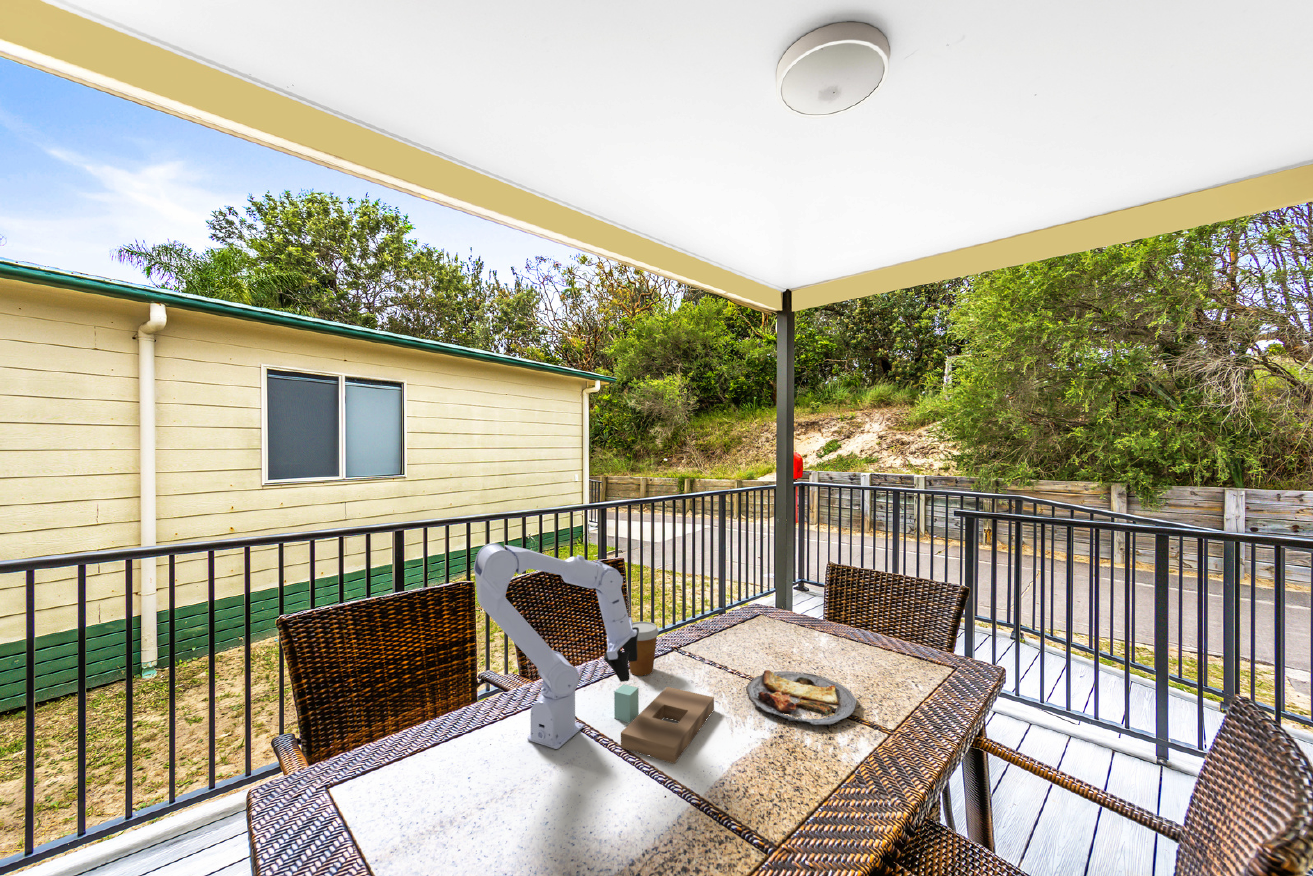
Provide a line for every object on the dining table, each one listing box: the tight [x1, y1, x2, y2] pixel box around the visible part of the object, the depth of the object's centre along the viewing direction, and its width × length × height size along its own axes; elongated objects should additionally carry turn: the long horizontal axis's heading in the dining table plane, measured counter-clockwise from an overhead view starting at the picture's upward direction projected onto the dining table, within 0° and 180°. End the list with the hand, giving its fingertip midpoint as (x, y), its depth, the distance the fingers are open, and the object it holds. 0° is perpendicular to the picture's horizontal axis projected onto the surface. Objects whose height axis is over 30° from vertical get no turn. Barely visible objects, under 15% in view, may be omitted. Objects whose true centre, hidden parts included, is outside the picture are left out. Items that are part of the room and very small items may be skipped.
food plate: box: [745, 669, 858, 726], centre depth 120 cm, size 25×23×4 cm
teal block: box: [613, 683, 640, 724], centre depth 114 cm, size 4×4×6 cm
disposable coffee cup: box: [628, 621, 659, 677], centre depth 137 cm, size 10×10×12 cm
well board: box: [620, 686, 715, 765], centre depth 109 cm, size 22×12×3 cm, turn 153°
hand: (629, 670), depth 116 cm, fingers open, 7 cm apart
